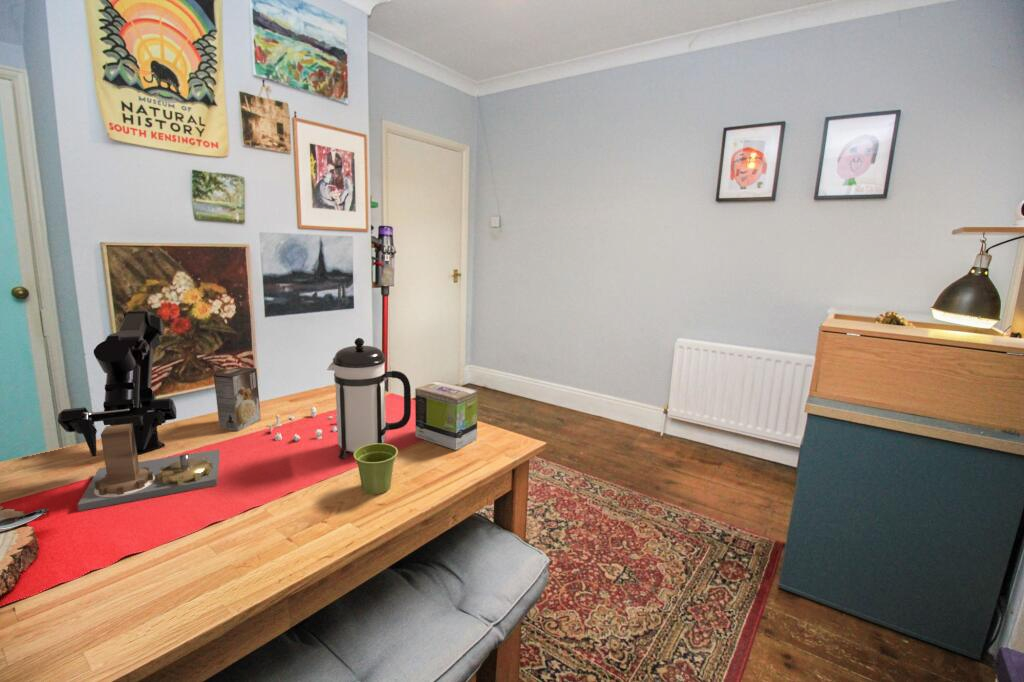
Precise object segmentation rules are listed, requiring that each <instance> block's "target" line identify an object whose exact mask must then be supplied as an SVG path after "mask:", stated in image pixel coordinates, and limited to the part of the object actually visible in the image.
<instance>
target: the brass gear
mask: <svg viewBox="0 0 1024 682" xmlns="http://www.w3.org/2000/svg"><path fill="white" fill-rule="evenodd" d="M188 454H189V453H184V454H183V453H182V454H180V455H179V456H180V462H177V461H175V462H172V464H171V465H169V466H167V467H162V468H161V469H160V473H158V474H157V478H158V482H161V481H163V485H166V486H168V485H169V484H178V486H179V485H184V483H187V482H191V481H199V480H201V477H203V476H205V475H210V474H211V469H213V463H212V461H209V462H207V458H201V459H193V458H189V455H188Z"/></svg>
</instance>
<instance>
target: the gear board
mask: <svg viewBox="0 0 1024 682" xmlns="http://www.w3.org/2000/svg"><path fill="white" fill-rule="evenodd" d="M187 454H188V455H189V458H193V459H201V458H207V462H209V461H212V463H213V469H211V474H210V475H205V476H203V477H201V480H199V481H191V482H187V483H184V485H179V486H178V484H169V485H168V486H166V485H163V481H161V482H158V478H157V474H158V473H160V469H161V468H162V467H167V466H169V465H171V464H172V462H175V461H177V462H180V455H176V456H175V455H174V456H168V457H162V458H155V459H149V460H143V461H138V463H139V468H144V467H148V468H149V472H153V480H150V481H148V482H147V483H146V484H144V485H145V487H143V488H141V489H138V488H137V489H134V490H131V491H128V492H124V494H121V495H117V494H105V495H99V490H96V488H95V482H96V481H100V480H101V479H103V478H104V477H106V476H105V475H106V474H107V472H106V466H104V467H98V469H97V470H96V473H95V474H94V476H93V477H92V480H91V481H90V483H89V485H87V487H86V490H85V492H84V493H83V495H82V497H81V499H80V500H79V502H78V503H77V508H78V512H83V511H88V510H93V509H97V508H98V509H99V508H104V507H108V506H109V507H110V506H114V505H115V506H116V505H120V504H126V503H131V502H135V501H140V500H147V499H151V498H156V497H162V496H168V495H172V494H178V493H184V492H188V491H194V490H198V489H204V488H209V487H210V488H211V487H215V486H218V478H219V469H220V468H219V467H220V466H219V465H220V458H219V457H220V456H221V455H220V449H212V450H207V451H206V450H205V451H201V452H200V451H199V452H193V453H187Z"/></svg>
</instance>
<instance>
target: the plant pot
mask: <svg viewBox="0 0 1024 682" xmlns="http://www.w3.org/2000/svg"><path fill="white" fill-rule="evenodd" d="M398 453H399V450H398V447H396V446H394V445H392V444H388V443H385V442H384V443H376V444H369V445H365V446H362V447H360V448H358V449H357V450H356V451H355V452H353V458H354V460H355V463H356V464H357V468H358V472H359V474H358V475H359V477H360V483H361V489H362V491H363V493H365V494H367V495H377V494H385V493H387V492H388V491H389V490H390V489H391V486H392V478H393V472H394V471H393V470H394V465H395V464H394V463H395V461H396V457H397V456H398Z"/></svg>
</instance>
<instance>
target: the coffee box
mask: <svg viewBox="0 0 1024 682" xmlns="http://www.w3.org/2000/svg"><path fill="white" fill-rule="evenodd" d="M213 379H214V387H215V389H214V390H215V399H216V406H217V408H216V409H217V417H218V426H219V429H221V430H229V431H235V432H239V431H241V430H243V429H245V428H247V427H249V426H250V425H251V426H252V424H255V423H256V422H259V421H261V420H262V416H261V405H260V404H261V403H260V395H259V384H258V373H257V368H256V367H243V366H236V367H234V368H230V369H227V370H224V371H220V372H217V373H215V374H213Z"/></svg>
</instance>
